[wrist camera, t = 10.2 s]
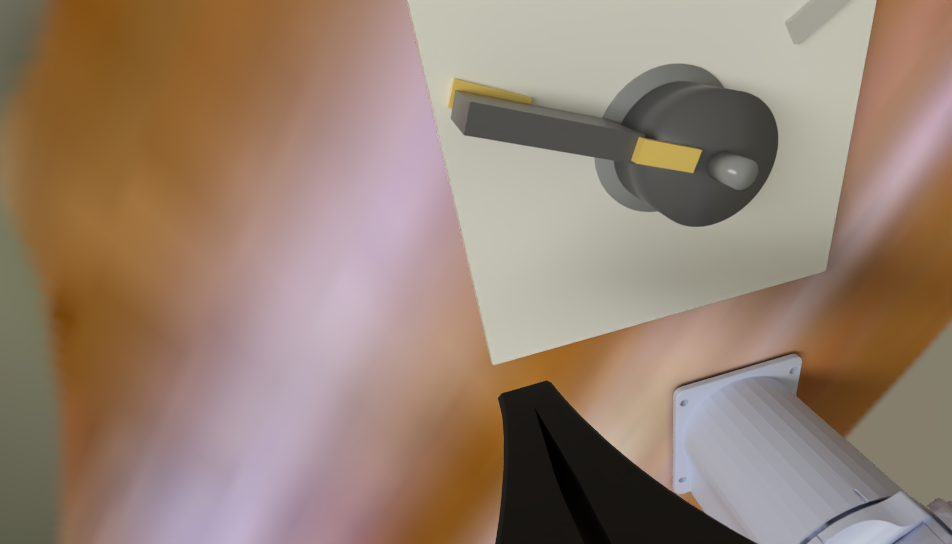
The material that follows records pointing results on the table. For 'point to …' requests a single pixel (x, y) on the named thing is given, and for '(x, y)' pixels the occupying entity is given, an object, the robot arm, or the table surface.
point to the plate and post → (594, 179)
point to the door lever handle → (647, 142)
